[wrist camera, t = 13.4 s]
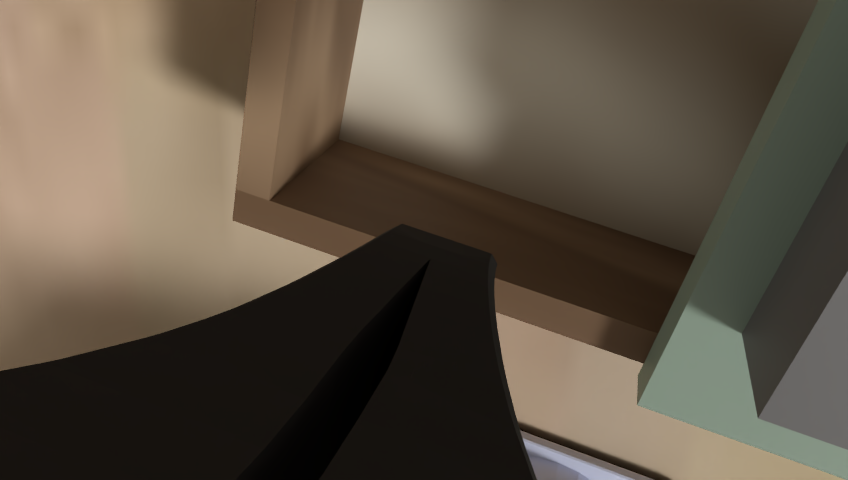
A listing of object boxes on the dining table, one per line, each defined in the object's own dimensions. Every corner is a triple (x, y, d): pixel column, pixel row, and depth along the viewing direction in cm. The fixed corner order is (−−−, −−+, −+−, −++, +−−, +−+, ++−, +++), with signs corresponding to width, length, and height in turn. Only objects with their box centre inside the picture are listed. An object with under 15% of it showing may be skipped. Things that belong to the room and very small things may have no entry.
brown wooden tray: (854, 323, 19) (912, 457, 15) (318, 147, 21) (232, 220, 17) (1195, -206, 13) (1453, -239, 9) (405, -386, 15) (308, -483, 11)
